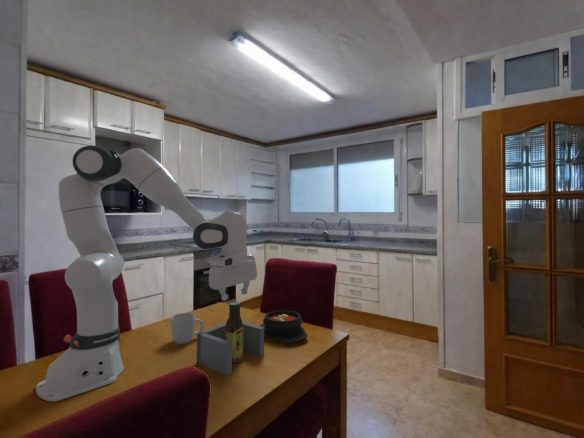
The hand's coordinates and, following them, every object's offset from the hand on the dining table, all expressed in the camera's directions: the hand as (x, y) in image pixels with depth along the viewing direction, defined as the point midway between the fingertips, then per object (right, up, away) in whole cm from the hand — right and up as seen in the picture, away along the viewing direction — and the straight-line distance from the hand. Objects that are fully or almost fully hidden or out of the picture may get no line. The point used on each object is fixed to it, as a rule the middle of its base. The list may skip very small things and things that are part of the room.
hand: (234, 296), depth 108 cm
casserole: (+16, -22, +23) cm, 36 cm away
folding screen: (-1, -22, +1) cm, 22 cm away
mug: (-22, -22, +17) cm, 36 cm away
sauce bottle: (0, -22, 0) cm, 22 cm away
